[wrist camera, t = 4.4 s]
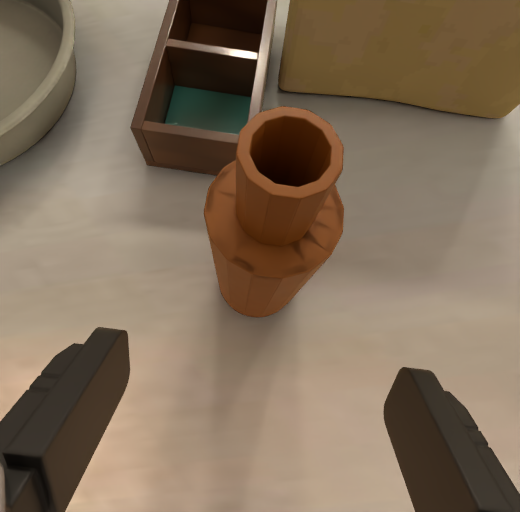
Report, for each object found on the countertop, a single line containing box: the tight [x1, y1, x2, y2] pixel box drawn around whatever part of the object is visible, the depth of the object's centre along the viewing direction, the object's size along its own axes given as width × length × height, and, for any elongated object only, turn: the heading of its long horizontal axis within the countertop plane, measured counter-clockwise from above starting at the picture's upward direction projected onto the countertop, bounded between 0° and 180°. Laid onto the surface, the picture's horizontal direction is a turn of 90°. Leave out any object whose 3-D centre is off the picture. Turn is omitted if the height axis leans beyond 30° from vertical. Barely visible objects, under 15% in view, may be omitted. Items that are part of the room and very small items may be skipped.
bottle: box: [204, 106, 344, 317], centre depth 17 cm, size 6×6×16 cm
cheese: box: [278, 0, 520, 118], centre depth 25 cm, size 22×10×15 cm, turn 75°
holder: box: [131, 0, 277, 175], centre depth 28 cm, size 9×17×5 cm, turn 173°
